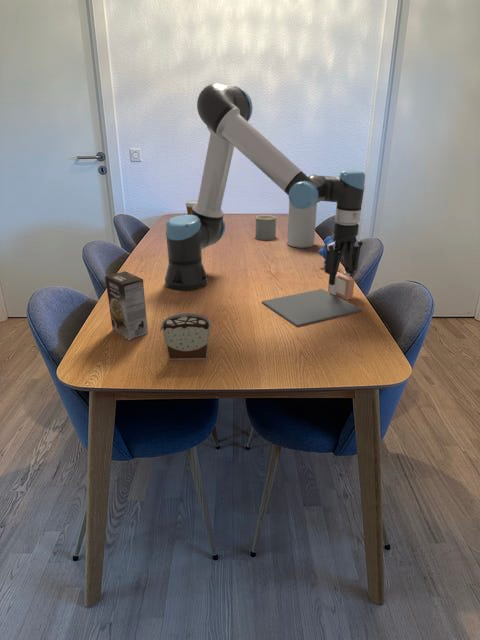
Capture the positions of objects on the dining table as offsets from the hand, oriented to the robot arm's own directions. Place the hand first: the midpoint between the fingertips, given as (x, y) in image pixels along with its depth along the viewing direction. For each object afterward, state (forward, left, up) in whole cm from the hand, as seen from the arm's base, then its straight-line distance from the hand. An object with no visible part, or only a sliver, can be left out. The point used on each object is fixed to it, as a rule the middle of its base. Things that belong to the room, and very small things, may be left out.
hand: (338, 292), depth 146 cm
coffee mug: (+19, +80, -1) cm, 82 cm away
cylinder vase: (+26, +59, -1) cm, 64 cm away
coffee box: (-69, +5, -1) cm, 69 cm away
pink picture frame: (+1, 0, -1) cm, 1 cm away
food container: (-59, -14, -1) cm, 61 cm away
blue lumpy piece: (+16, +27, -1) cm, 31 cm away
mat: (-14, -4, -1) cm, 15 cm away
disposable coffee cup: (-1, +124, -1) cm, 124 cm away
